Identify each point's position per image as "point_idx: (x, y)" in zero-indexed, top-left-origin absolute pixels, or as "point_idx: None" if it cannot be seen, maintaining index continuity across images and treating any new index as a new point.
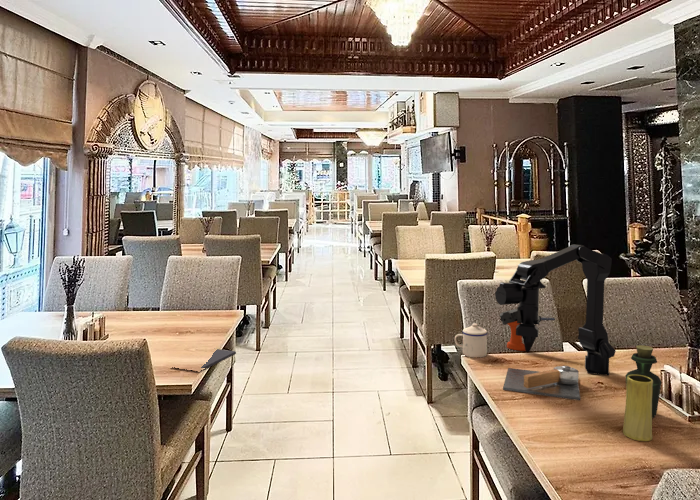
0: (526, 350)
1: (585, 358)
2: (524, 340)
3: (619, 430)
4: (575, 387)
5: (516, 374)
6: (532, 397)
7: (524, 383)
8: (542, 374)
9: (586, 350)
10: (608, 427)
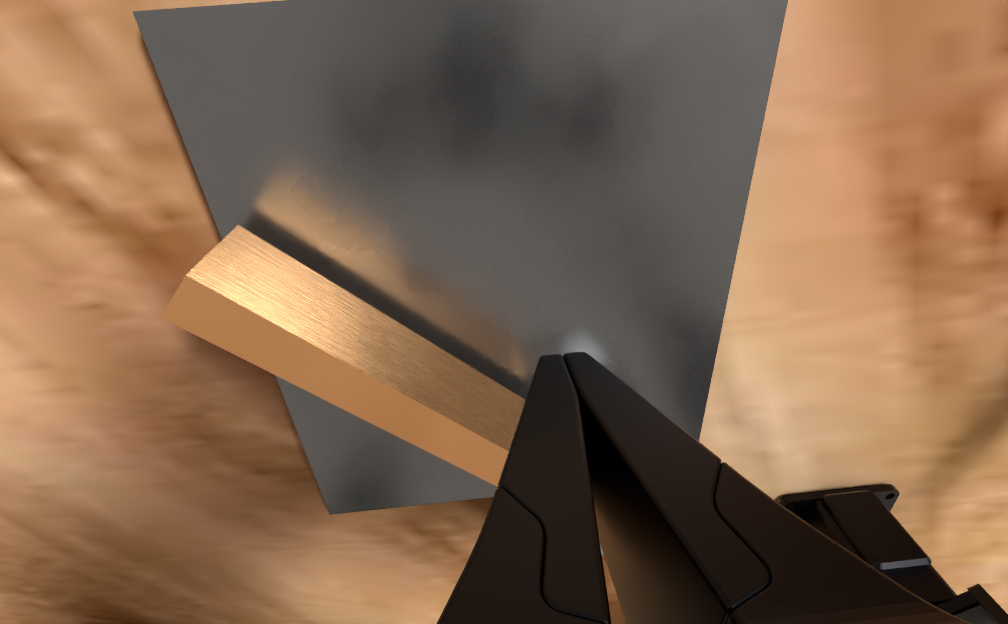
0: (538, 375)
1: (887, 554)
2: (488, 541)
3: (92, 618)
4: (483, 485)
5: (597, 96)
6: (178, 284)
7: (222, 243)
8: (346, 409)
9: (952, 607)
10: (85, 594)
